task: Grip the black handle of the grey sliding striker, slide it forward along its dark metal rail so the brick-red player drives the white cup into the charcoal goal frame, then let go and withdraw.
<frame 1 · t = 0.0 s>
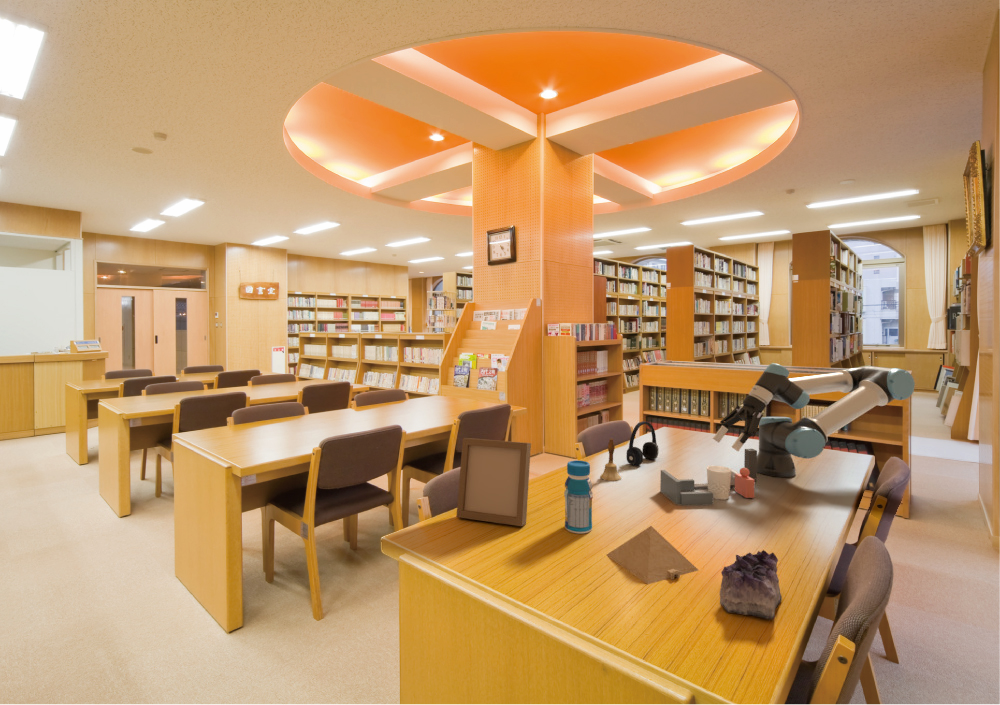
hand: (724, 444, 182), 15 cm above the table, fingers open, 13 cm apart
hand bell: (610, 478, 191), on the table
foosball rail: (710, 487, 179), on the table
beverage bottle: (578, 529, 143), on the table
white cup: (718, 497, 169), on the table
headphones: (642, 462, 213), on the table
goal frame: (687, 497, 168), on the table
striker slider: (746, 472, 174), point 7 cm above the table, slide at 0.0 cm
geode: (752, 599, 105), on the table
model pyramid: (651, 565, 122), on the table
photo frame: (496, 516, 153), on the table
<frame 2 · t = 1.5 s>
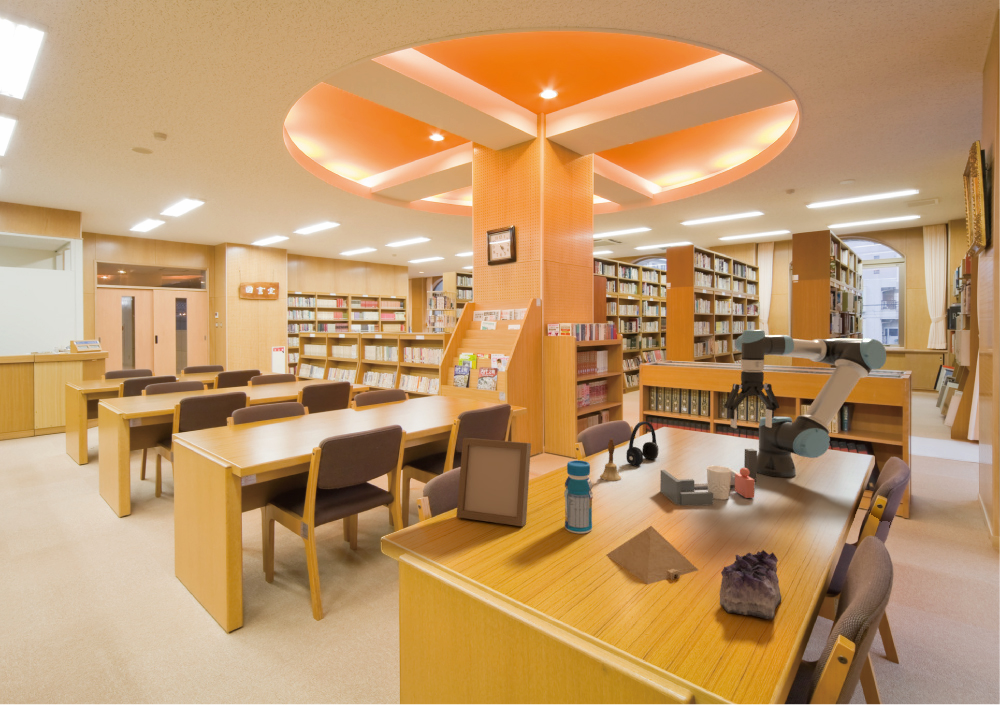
hand: (751, 427, 179), 23 cm above the table, fingers open, 13 cm apart
nothing on the table moved.
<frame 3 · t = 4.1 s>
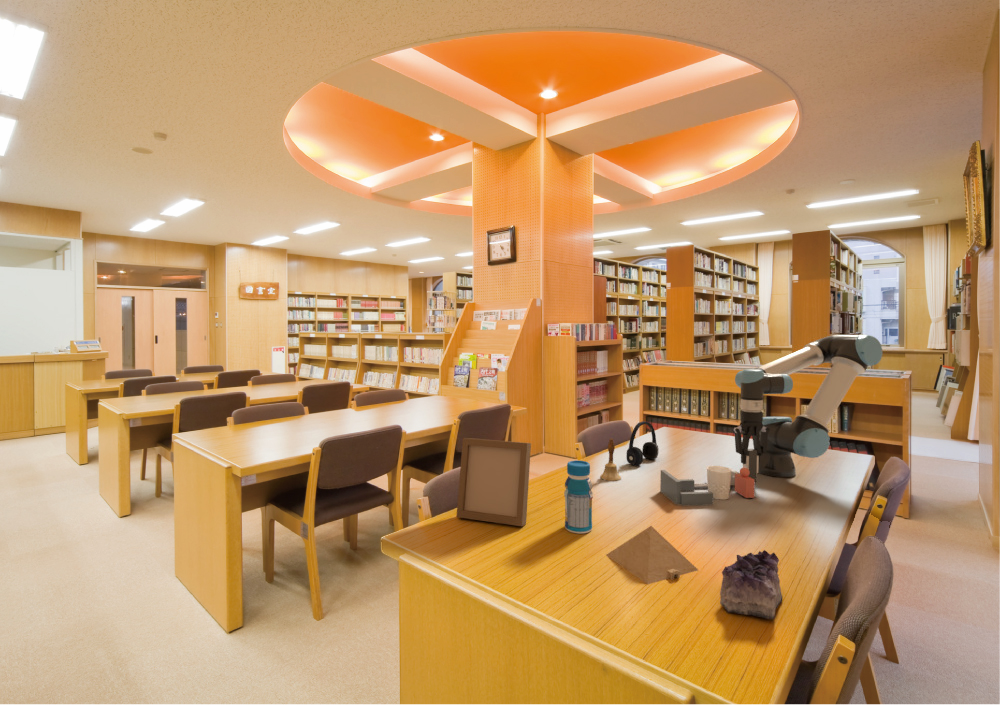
hand: (750, 471, 179), 6 cm above the table, fingers closed on striker slider, 3 cm apart
striker slider: (746, 472, 174), point 7 cm above the table, slide at 0.0 cm, touching gripper
everything else where it was.
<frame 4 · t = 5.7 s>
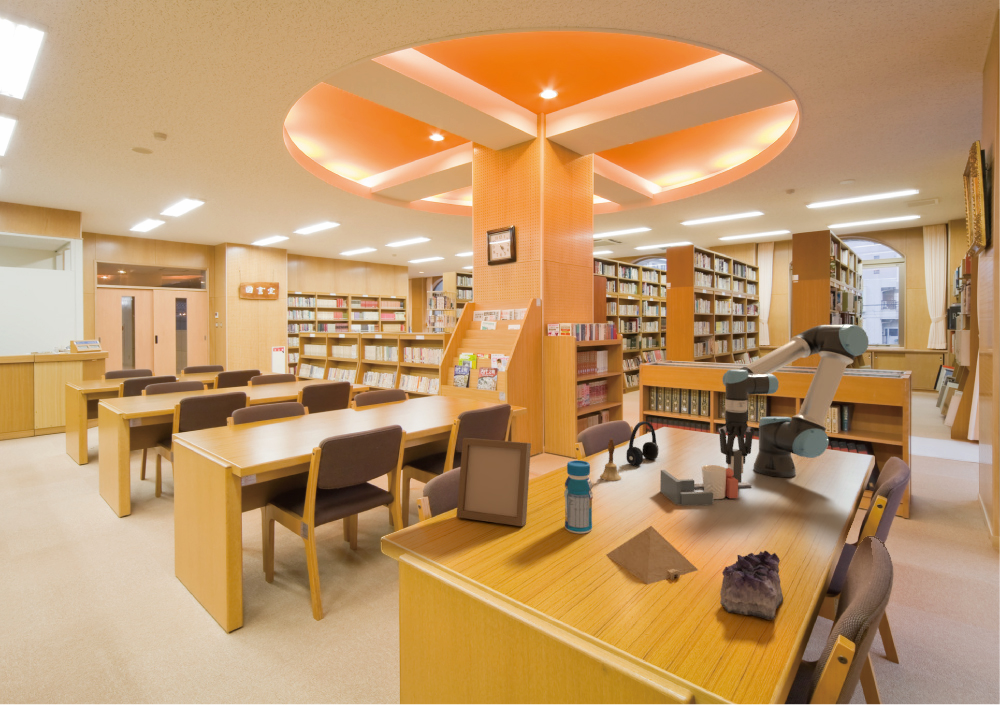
hand: (735, 472, 179), 6 cm above the table, fingers closed on striker slider, 3 cm apart
white cup: (714, 496, 169), on the table, touching striker slider
striker slider: (731, 472, 173), point 7 cm above the table, slide at 5.9 cm, touching white cup, gripper
everything else where it was.
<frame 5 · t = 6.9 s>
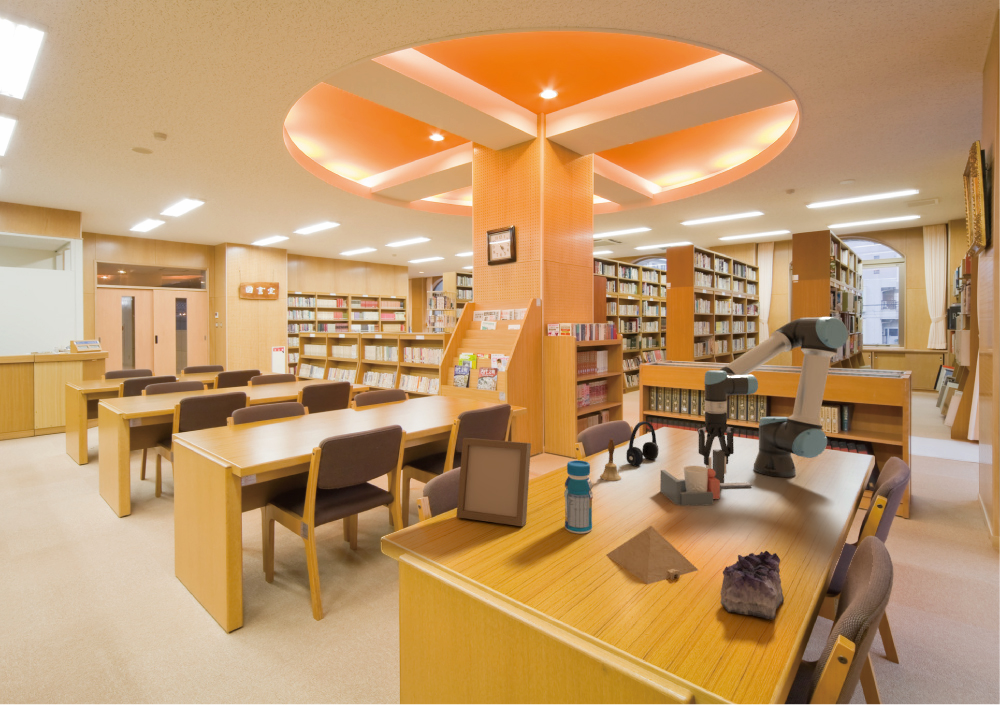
hand: (716, 472, 179), 6 cm above the table, fingers open, 5 cm apart
white cup: (696, 497, 169), on the table, touching striker slider
striker slider: (713, 472, 173), point 7 cm above the table, slide at 12.5 cm, touching white cup, goal frame, gripper
everything else where it was.
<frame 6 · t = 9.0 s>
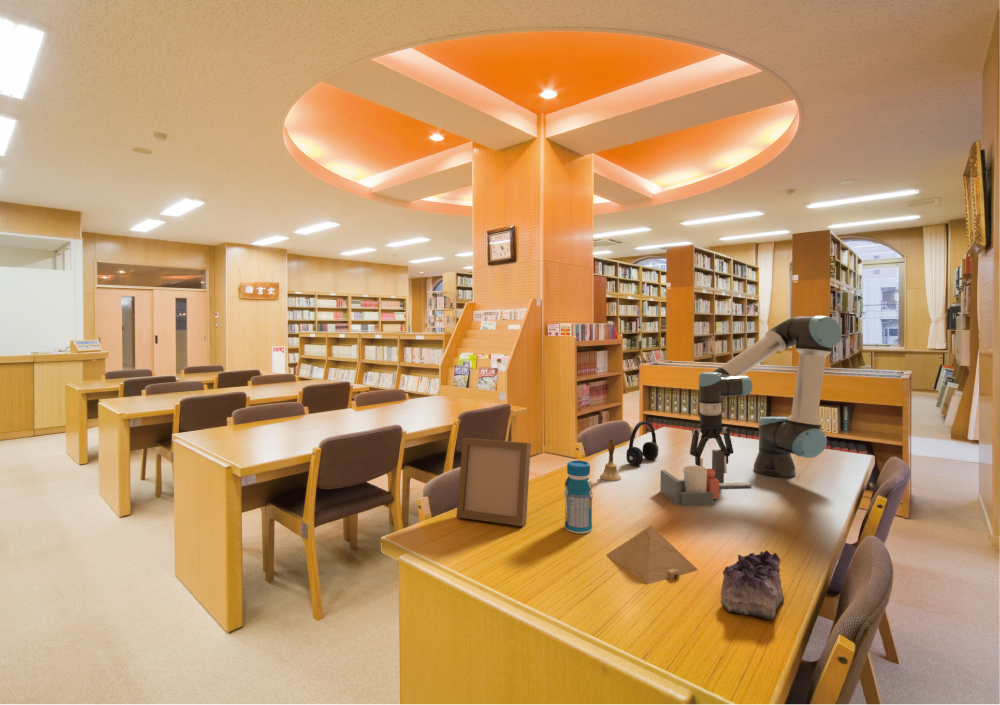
hand: (712, 473, 179), 5 cm above the table, fingers closed on striker slider, 8 cm apart
striker slider: (713, 473, 173), point 7 cm above the table, slide at 12.7 cm, touching white cup, goal frame, gripper
everything else where it was.
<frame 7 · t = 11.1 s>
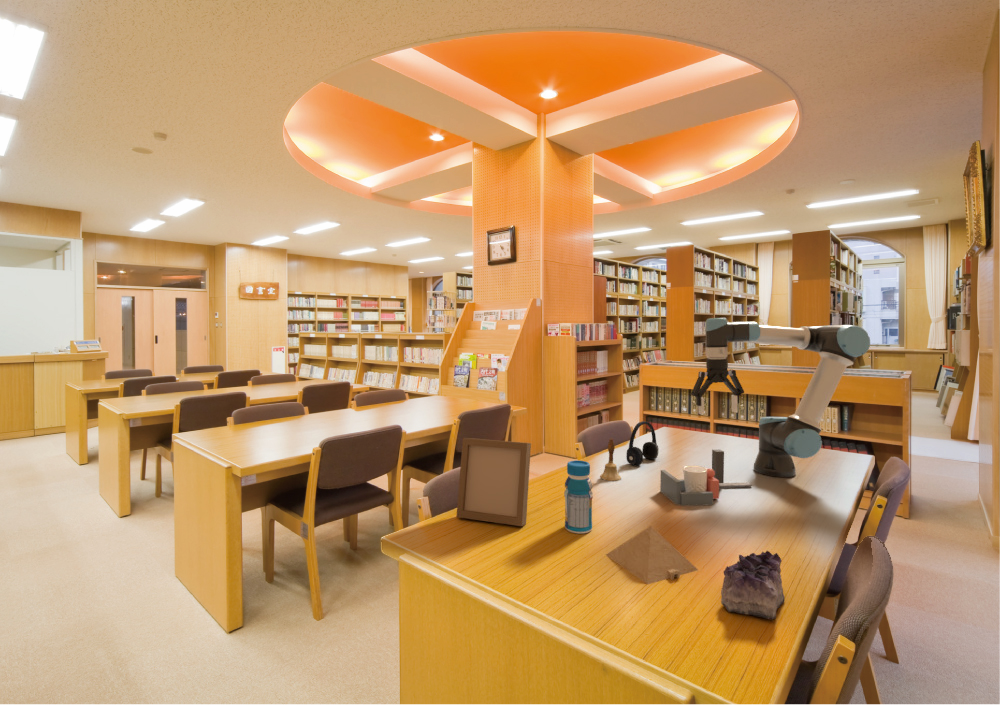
hand: (718, 413, 183), 27 cm above the table, fingers open, 13 cm apart
striker slider: (713, 473, 173), point 7 cm above the table, slide at 12.8 cm, touching white cup, goal frame
everything else where it was.
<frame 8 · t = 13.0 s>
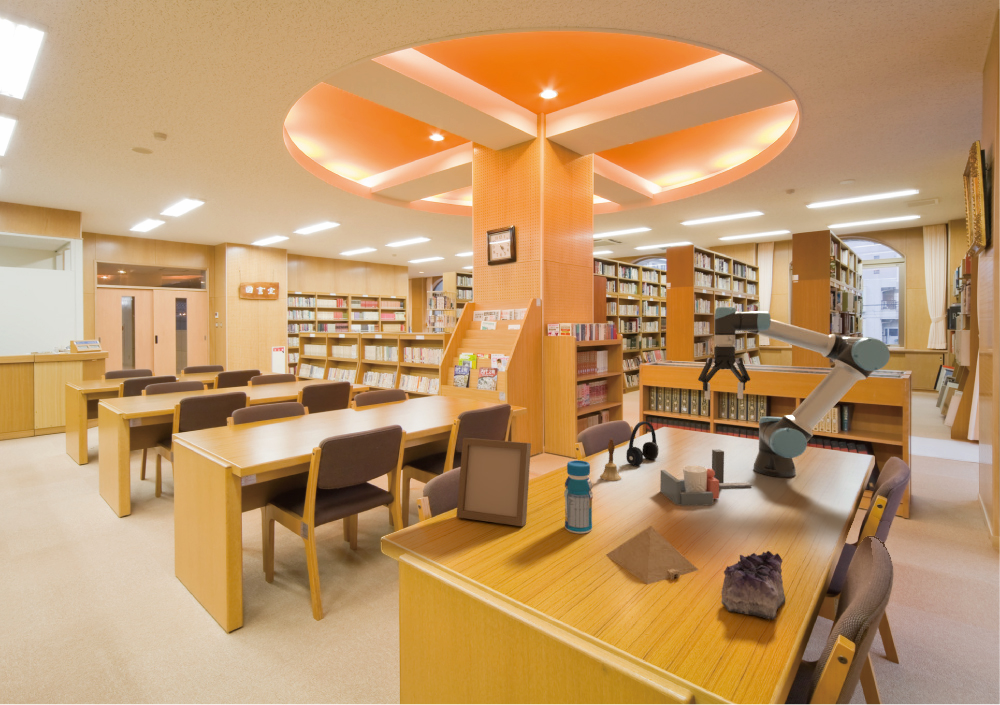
hand: (723, 399, 189), 32 cm above the table, fingers open, 13 cm apart
nothing on the table moved.
at the end: white cup inside the target area (4.5 cm from its centre), on the table; white cup tilted 3°; striker slider slide at 12.8 cm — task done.
